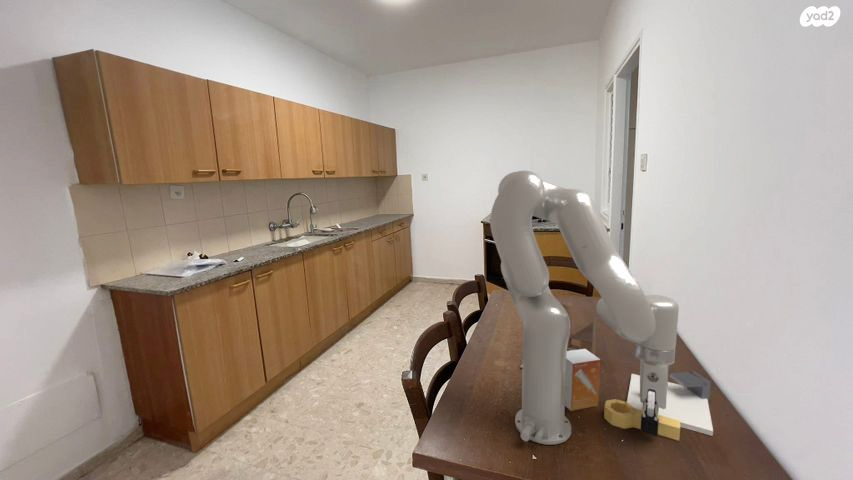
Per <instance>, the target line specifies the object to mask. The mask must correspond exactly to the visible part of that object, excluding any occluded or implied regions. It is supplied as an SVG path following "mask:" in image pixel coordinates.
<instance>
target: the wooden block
mask: <svg viewBox="0 0 853 480" xmlns="http://www.w3.org/2000/svg"><path fill="white" fill-rule="evenodd" d="M560 303H561V305H562V306H563V307H564V308H565V310H566V312H567V314H568V316H569V319H570V335H569V340H568V345H567V351H571V350H579V349H586V350H588V351H589V352H591V353H592V354H593V355H595V356H596V339H597V323H598V322H597V318H595V319H594V320H592V321H590V322H588V323H587V324H586V325H584V326H583V327H582V328H579V329H578V330H577V331H575V332H574V333H573V312H574V311H573V309H574V305H573V303H572V302H570V301H562V302H560ZM573 340H576V341H580V346H578V345H575V344H572V341H573Z"/></svg>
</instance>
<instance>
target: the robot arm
mask: <svg viewBox="0 0 853 480" xmlns="http://www.w3.org/2000/svg"><path fill="white" fill-rule="evenodd" d="M497 193H498V194H497V196H496V198H495V199H494V201H493V205H492V208H491V211H490V212H491V213H490V220H489V221H490V222H489V225H490V231H491V234H492V238H493V241H494V244H495V247H496V250H497V253H498V256H499V258H500V261H501V263H500V271H501V275H502V277H503V279H504V282H505V284H506V288H507V290H508V291H509V295H510V297H511V299H512V302H513V305H514V307H515V309H516V312H517V313H518V316H519V317H520V319H521V323H522V324H523V325H522V326H523V330H524V331H523V332H524V333H523V342H522V343H523V344H522V354H521V355H522V356H521V358H522V361H521V365H522V367H521V368H522V369H521V370H522V371H521V372H522V374H521V375H522V377H521V381H522V382H521V390H522V391H521V409H519V410H518V411H517V412H516V414H515V418H514V423H515V428H516V429H517V430H518V432H519V433H520V438H521V440H523V441H524V442H528V441H532V442H534V443H537V444H540V445H541V444H542V445H549V446H551V445H558V444H562V443H564V442H566V441H567V440H569V438H570V437H571V435H572V424H571V423H570V419H568V417H567V416H565V415H566V414H565V413H566V412H565V409H566V406H565V383H566V353H567V345H568V340H569V335H570V319H569V316H568V314H567V312H566V310H565V308H564V307H563V306H562V305H561V302H560V301H559V300H558V299H557V298H556V297H555V296H554V295H553V293H552V291H551V289H550V287H549V282H550V272H549V268H548V266H547V264H546V261H545V259H544V257H543V254H542V251H541V249H540V246H539V244H538V242H537V238H536V235H535V233H534V229H533V224H532V222H533V221H532V219H533V217H536V218H538V219H541V220H544V221H548V222H551V223H554V224H556V225H557V227H558V229H559V231H560V233H561V236H562V237H563V239H564V242H565V244H566V246H567V248H568V250H569V252H570V255H571V257H572V259H573V261H574V263H575V265H576V267H577V268H578V270H579V271H580V272H581V274H582V275H583V276H584V278H586V279H587V281H588V282H589V283H590V284H591V285H592V286H593V287H594V288H595V290H596V291H597V293H598V294H599V295H600V298H599V300H598V302H597V303H596V312H597V314H598V317H599V318H600V319H601V320H602V321H603V322H604V323H605V324H607V325H606V326H609V328H611V329H612V330H613V331H614V332H615V333H616V334H617V335H619V337H620V338H622V339H623V340H625V341H628V342H629V343H635V345H634V347H635V348H634V355H635V357H636V358H637V359H638V360H640V366H639V375H640V402H641V403H642V404H643V414H642V415H641V429H640V431H641V432H642V433H644V434H648V435H652V436H654V437H657V436H658V422H659V419H658V410H659V408H662V409H666V401H667V387H668V382H669V367H670V365H673V364H674V363H675V359H676V345H677V334H678V321H679V309H680V308H679V304H678V302H676V300H674V298H671V297H667V296H663V295H660V294H659V295H658V294H657V295H656V294H648V295H646V293H645V292H644V291H643V288H642V287H641V284H640V283H639V282H638V280H637V278H636V277H635V275H634V274H633V273H632V271H631V270H630V268H629V267H628V265H627V264H626V262H625V261H624V259H623V258H622V257H621V255H620V254H619V253H618V251H617V249H616V247H615V245H614V243H613V241H612V239H611V237H610V234H609V232H608V229H607V227H606V225H605V224H604V223H605V222H604V221H603V219H602V216H601V214H600V211H599V210H598V208H597V205H596V203H595V201H594V200H593V198H592V197H591V195H590V194H588V192H586V191H584V190H581V189H577V188H565V187H561V186H558V185H555V184H552V183H549V182H546V181H544V180H543V179H542V177H541V176H540V175H539V174H537V173H536V172H533V171H531V170H518V171H517V170H516V171H512V172H510V173H508V174H506V175H505V176H504V177H502V179H501V180H500V183H499V185H498V188H497Z"/></svg>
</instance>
